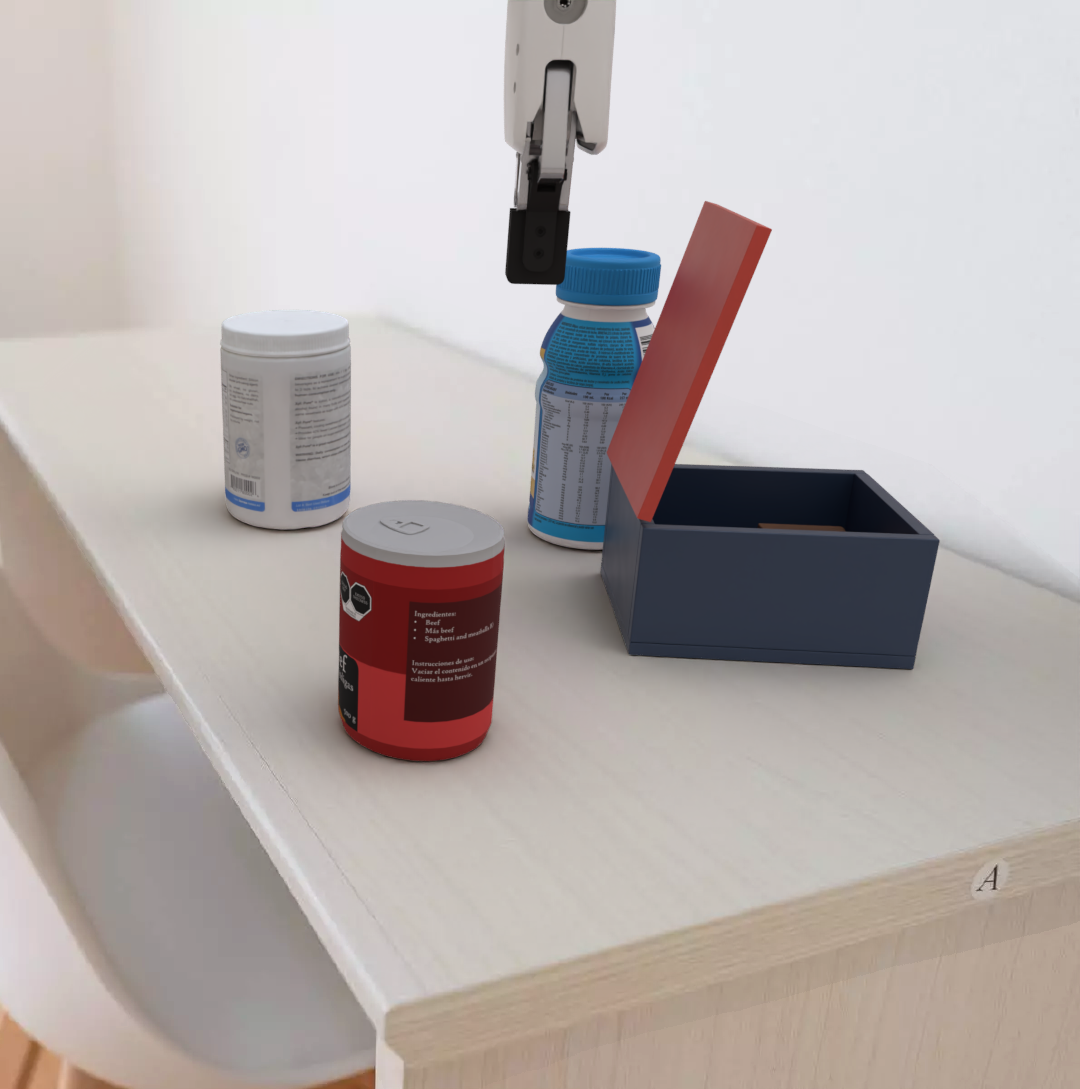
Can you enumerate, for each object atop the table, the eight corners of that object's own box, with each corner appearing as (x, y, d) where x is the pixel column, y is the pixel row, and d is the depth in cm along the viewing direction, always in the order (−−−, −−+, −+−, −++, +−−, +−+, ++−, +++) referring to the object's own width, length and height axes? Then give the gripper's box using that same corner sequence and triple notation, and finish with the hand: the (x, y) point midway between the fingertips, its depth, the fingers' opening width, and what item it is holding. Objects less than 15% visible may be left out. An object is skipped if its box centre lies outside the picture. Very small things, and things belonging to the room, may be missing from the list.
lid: (717, 204, 73) (704, 200, 73) (772, 229, 62) (757, 224, 62) (618, 456, 80) (606, 453, 80) (650, 522, 68) (636, 518, 68)
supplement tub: (349, 493, 98) (353, 308, 93) (350, 535, 89) (354, 333, 84) (228, 491, 99) (225, 307, 93) (217, 532, 90) (213, 332, 85)
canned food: (368, 679, 68) (374, 490, 64) (510, 709, 65) (525, 512, 61) (312, 742, 62) (314, 537, 58) (466, 779, 58) (479, 565, 54)
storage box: (843, 583, 81) (863, 469, 78) (913, 669, 69) (940, 539, 66) (600, 572, 83) (611, 461, 80) (628, 655, 71) (642, 528, 68)
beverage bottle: (549, 557, 85) (574, 263, 78) (508, 516, 93) (527, 246, 86) (664, 549, 86) (699, 260, 79) (614, 510, 94) (641, 243, 87)
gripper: (663, -95, 56) (620, 307, 63) (616, -63, 70) (585, 264, 77) (497, -94, 57) (471, 303, 64) (483, -61, 71) (463, 262, 78)
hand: (533, 281), depth 70 cm, fingers closed
